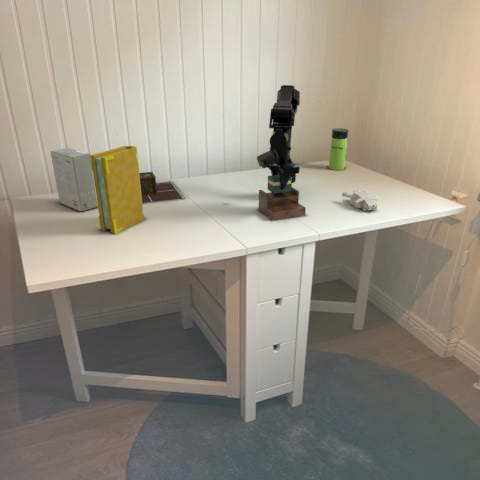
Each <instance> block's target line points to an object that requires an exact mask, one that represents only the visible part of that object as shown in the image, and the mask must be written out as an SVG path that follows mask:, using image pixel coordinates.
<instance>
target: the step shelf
mask: <svg viewBox="0 0 480 480" xmlns="http://www.w3.org/2000/svg"><path fill="white" fill-rule="evenodd" d="M299 199H300V190H298V189H296V188H294V187H293V186H292V187H291V191H287V192H279V193H272V192H271V191H270V192H266V191H264V190H262V189H258V211H260V212H261V213H262V214H264V215H265V216H266V217H268V218H270V220H272V221H280V220H285V219H291V218H299V217H305V216H306V210H307V209H306V207H305V206H304V205H302V204H300V202H299Z"/></svg>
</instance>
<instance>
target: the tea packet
mask: <svg viewBox="0 0 480 480" xmlns="http://www.w3.org/2000/svg"><path fill="white" fill-rule="evenodd" d="M267 191H269V192H270V193H271V192H272V193H279V192H287V191H291V178H290V179H289V181H288V183H287V185H286V187H285V188H284V190H281V186H280V175H272V174H271V175H267Z"/></svg>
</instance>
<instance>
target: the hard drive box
mask: <svg viewBox="0 0 480 480" xmlns="http://www.w3.org/2000/svg"><path fill="white" fill-rule="evenodd" d="M90 155H91V153H89V152H85V151H81V150H77V149H74V148H70V147H65V148H58V149H54V150H53V149H52V150H50V157H51V162H52V168H53V173H54V178H55V183H56V184H55V185H56V189H57V195H58V199H59V203H60V204H62V205H64V206H67V207H68V208H72V209H73V210H75V211H78V212H85V211H87V210H91V209H95V208H98V202H97V196H96V189H95V182H94V175H93V171H92V168H91V162H90Z"/></svg>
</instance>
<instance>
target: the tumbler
mask: <svg viewBox="0 0 480 480" xmlns="http://www.w3.org/2000/svg"><path fill="white" fill-rule="evenodd" d="M348 137H349V129H347V128H342V127H341V128H340V127H336V128H332V129H331V139H330V147H329V148H330V149H329V150H330V151H329V160H328V161H329V162H328V169H330V170H333V171H342V170H344V169H345V167H346V166H345V165H346V156H347V147H348V146H347V145H348Z"/></svg>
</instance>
